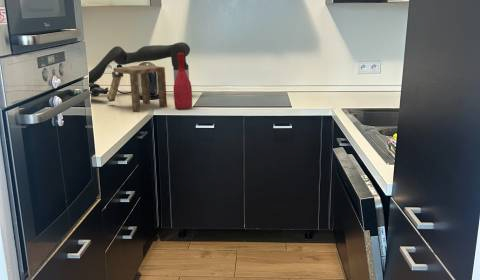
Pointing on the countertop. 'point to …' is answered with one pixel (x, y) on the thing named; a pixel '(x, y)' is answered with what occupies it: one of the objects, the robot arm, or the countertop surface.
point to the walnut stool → (144, 83)
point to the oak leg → (114, 88)
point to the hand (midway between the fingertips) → (106, 92)
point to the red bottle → (182, 87)
